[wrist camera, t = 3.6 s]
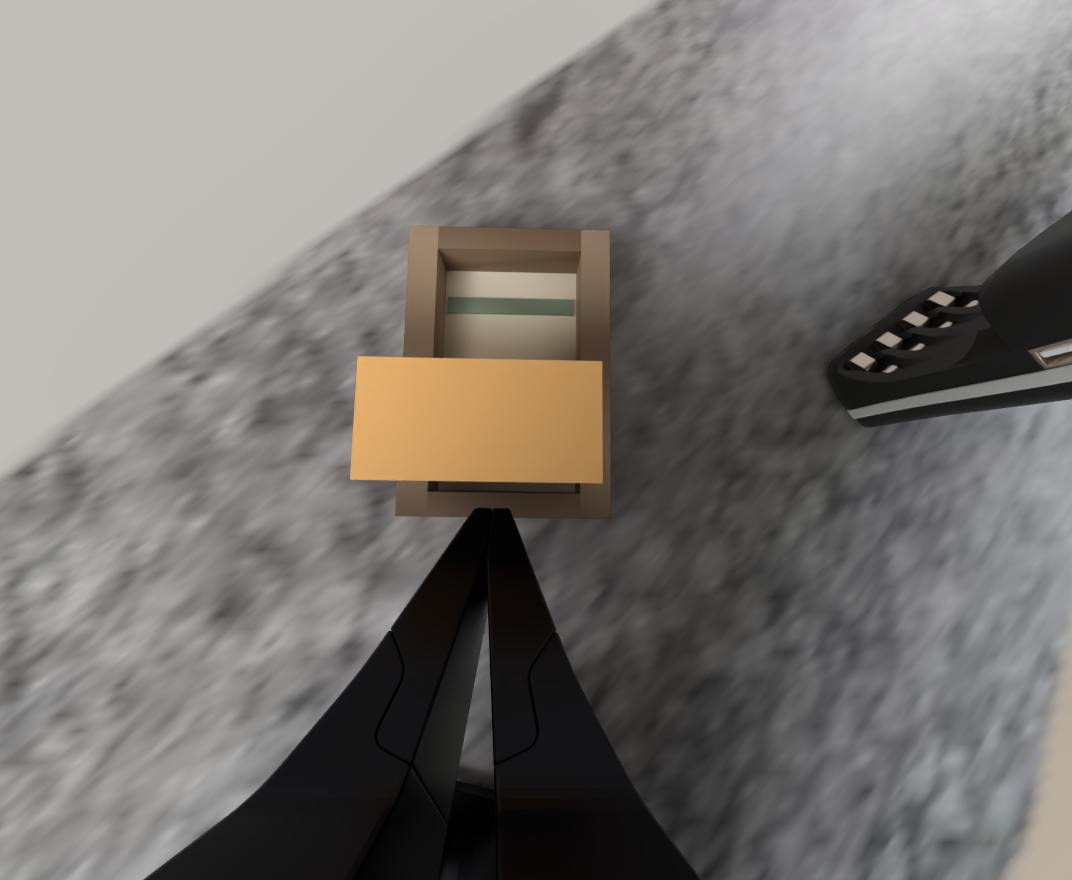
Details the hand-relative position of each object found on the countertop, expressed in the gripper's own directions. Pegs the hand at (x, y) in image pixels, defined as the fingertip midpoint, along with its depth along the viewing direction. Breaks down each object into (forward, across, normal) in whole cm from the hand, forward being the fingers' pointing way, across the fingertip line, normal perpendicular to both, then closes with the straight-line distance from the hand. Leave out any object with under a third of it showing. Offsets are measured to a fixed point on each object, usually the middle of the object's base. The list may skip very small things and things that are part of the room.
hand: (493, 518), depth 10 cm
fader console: (+8, 0, +1) cm, 8 cm away
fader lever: (+5, 0, +2) cm, 5 cm away
